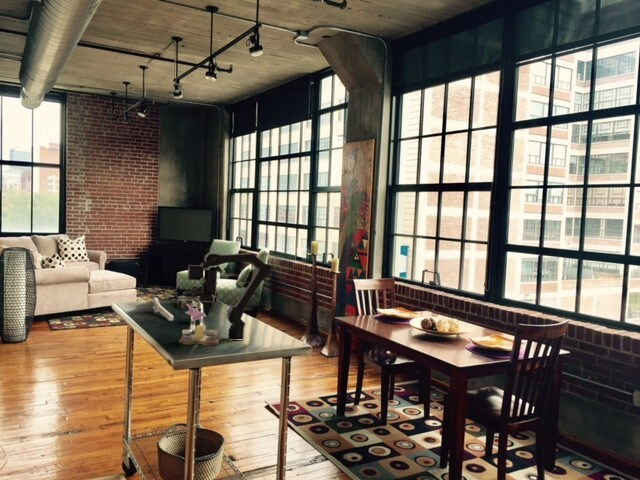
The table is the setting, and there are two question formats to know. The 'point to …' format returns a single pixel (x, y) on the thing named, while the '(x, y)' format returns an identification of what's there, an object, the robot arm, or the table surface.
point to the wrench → (161, 309)
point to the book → (185, 301)
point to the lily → (195, 313)
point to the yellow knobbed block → (200, 332)
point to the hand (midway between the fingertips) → (208, 313)
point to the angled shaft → (188, 333)
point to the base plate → (206, 341)
